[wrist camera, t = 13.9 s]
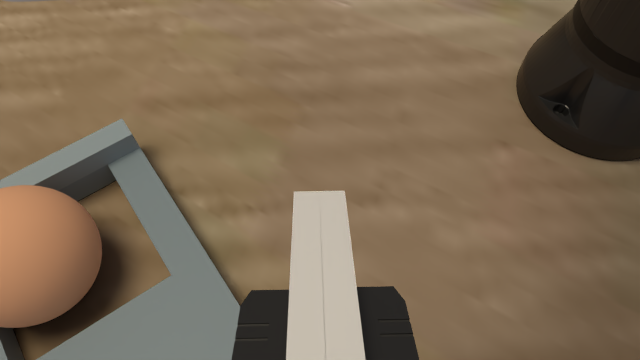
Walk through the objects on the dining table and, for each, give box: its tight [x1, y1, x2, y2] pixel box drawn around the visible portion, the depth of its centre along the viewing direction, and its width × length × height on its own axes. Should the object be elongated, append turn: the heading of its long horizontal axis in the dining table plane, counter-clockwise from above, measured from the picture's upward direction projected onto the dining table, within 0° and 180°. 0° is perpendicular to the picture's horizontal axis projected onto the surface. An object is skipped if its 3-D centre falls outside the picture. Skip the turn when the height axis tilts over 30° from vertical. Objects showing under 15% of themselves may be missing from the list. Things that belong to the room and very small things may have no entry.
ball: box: [0, 185, 102, 328], centre depth 35 cm, size 10×10×10 cm
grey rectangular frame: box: [0, 119, 240, 360], centre depth 35 cm, size 30×18×4 cm, turn 35°
